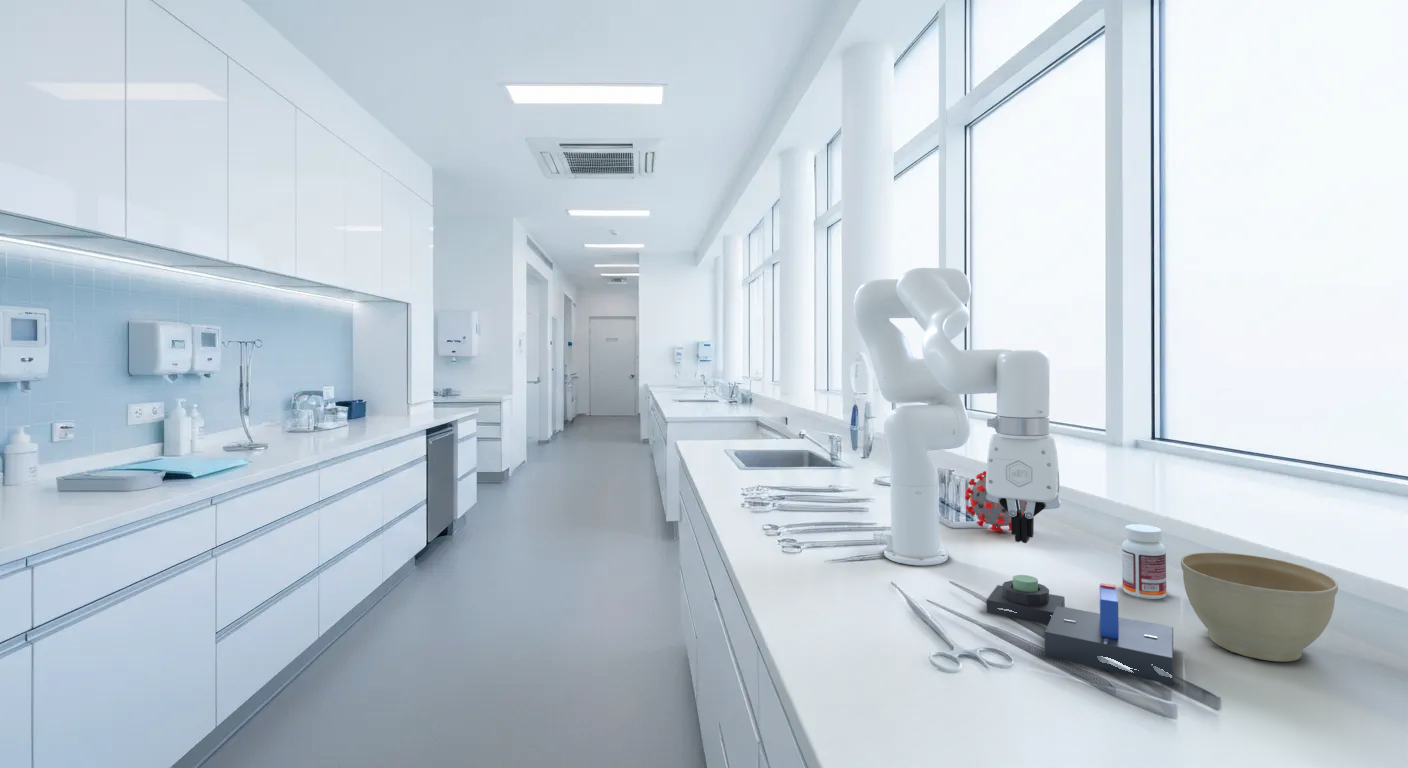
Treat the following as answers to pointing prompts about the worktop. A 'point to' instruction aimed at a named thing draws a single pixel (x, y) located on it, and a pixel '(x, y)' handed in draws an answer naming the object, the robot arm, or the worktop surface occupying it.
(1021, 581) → the button
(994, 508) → the virus model
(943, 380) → the robot arm
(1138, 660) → the panel
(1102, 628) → the blue flat block
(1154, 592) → the pill bottle
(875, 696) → the worktop surface
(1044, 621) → the block
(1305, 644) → the planter bowl
